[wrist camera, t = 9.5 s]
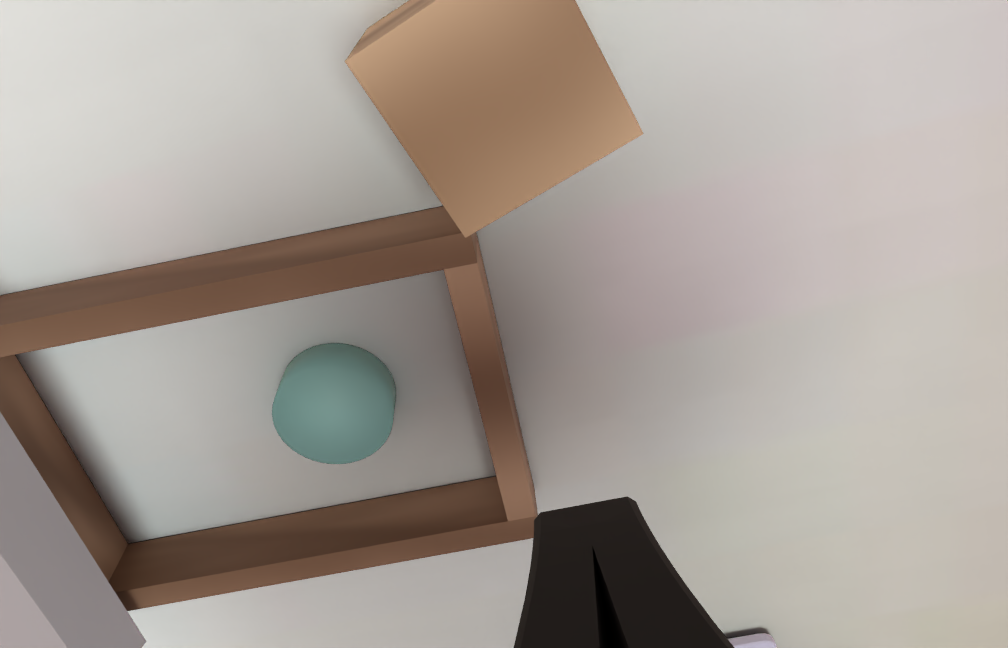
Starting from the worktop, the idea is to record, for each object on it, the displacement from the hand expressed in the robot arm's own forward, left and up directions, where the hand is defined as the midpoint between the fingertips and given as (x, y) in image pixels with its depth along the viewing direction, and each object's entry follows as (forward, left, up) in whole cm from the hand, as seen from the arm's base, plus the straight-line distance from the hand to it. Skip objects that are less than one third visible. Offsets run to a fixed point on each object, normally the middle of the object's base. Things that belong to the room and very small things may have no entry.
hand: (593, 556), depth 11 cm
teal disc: (-3, +6, -11) cm, 13 cm away
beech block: (+5, 0, -10) cm, 12 cm away
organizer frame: (-3, +8, -10) cm, 14 cm away
